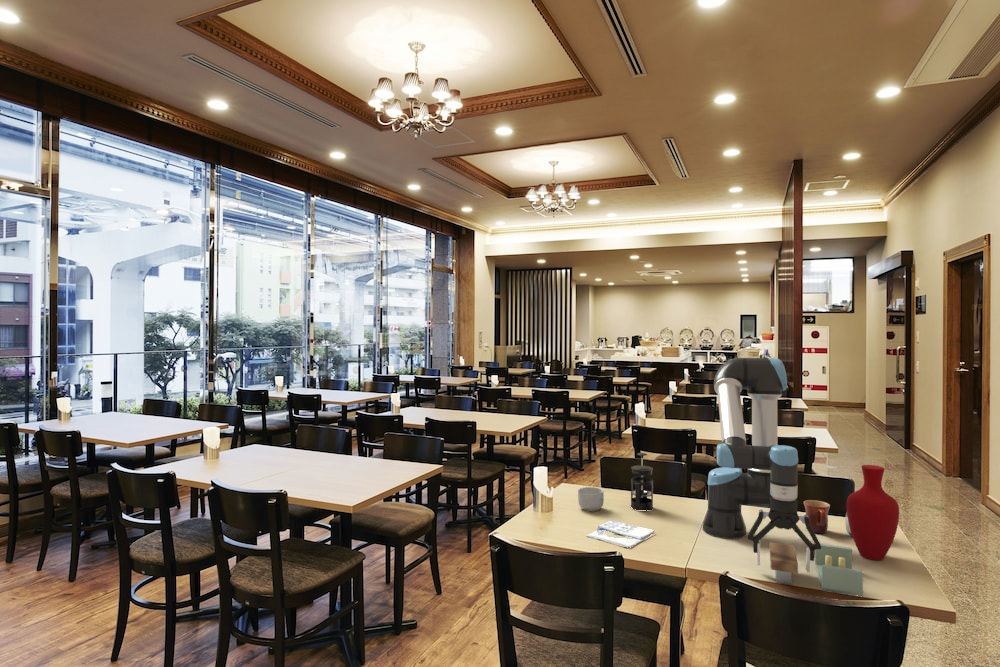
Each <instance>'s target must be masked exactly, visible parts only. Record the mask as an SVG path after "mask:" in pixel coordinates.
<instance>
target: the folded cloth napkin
mask: <svg viewBox="0 0 1000 667" xmlns="http://www.w3.org/2000/svg"><path fill="white" fill-rule="evenodd" d="M602 530H606V531H609V532H612V533H616V534H615V535H618V534H620V535H619V536H622V535H623V536H622V537H624V536H628V537H632V538H635V539H627V538H614V537H609V536H607V535H606V534H607V533H605V532H606V531H602ZM655 533H656V532H655V530H654V529H650V528H646V527H642V526H636V525H633V524H628V523H623V522H619V521H615V520H609V521H607V522H605V523H602V524H600V525H597V529H596V530H595V531H593V532H591V533H588V534H586V535H585V537H586V536H587V538H590V537H592V538H591V539H594V538H597V539H601V540H605V541H609V542H612V543H615V544H619V545H622V546H624V547H628V548H627V549H629V548H630V547H632V546H633V547H635V546H636V545H635V544H637V543H639V542H641V541H643V540H645V539H646V538H648V537H649V536H650V535H651V534H655ZM597 539H596V540H597ZM648 539H649V538H648ZM601 540H600V541H601ZM646 540H647V539H646ZM646 540H645V541H646ZM643 542H644V541H643ZM641 543H642V542H641ZM615 544H614V545H615ZM639 544H640V543H639ZM619 545H618V546H619ZM634 545H635V546H634ZM637 545H638V544H637ZM624 547H623V548H624ZM633 547H632V548H633ZM630 549H631V548H630Z"/></svg>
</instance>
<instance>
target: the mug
mask: <svg viewBox="0 0 1000 667" xmlns="http://www.w3.org/2000/svg"><path fill="white" fill-rule="evenodd" d="M803 505H804V509H805V515H808V517H809V523H810V525H811V527H812V529H813V531H814V533H815V534H820V535H821V534H825V533H827V532H828V529H829V516H828V515H829V510H830V507H831V504H829V503H828V502H825V501H821V500H817V499H816V500H814V499H807V500H804V501H803ZM805 529H806V530H807V528H806V527H805Z"/></svg>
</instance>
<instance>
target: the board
mask: <svg viewBox="0 0 1000 667" xmlns="http://www.w3.org/2000/svg"><path fill="white" fill-rule="evenodd" d="M795 547H796V546H795V545H792V544H784V543H778V542H769V560H770V569H771V570H773V571H775V570H778V571H784V572H791V574H798V573H799V570H798V569H799V563H798V557H797V553H796V552H797V551H796V548H795Z"/></svg>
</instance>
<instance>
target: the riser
mask: <svg viewBox="0 0 1000 667" xmlns="http://www.w3.org/2000/svg"><path fill="white" fill-rule="evenodd" d="M774 571H775V582H776V583H778V584H779V583H780V584H786V585H792V573H791V572H784V571H778V570H774Z"/></svg>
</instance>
